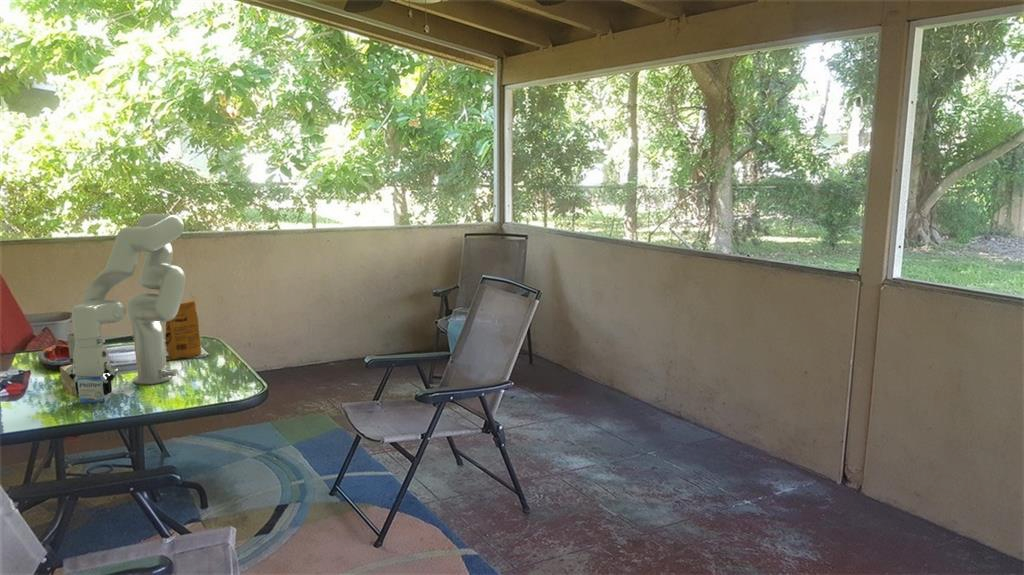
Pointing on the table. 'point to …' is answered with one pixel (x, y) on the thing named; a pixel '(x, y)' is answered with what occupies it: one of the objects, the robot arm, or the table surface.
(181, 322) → the coffee package
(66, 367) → the carton lid
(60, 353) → the dish
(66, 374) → the carton
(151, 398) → the table surface
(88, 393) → the medicine box
